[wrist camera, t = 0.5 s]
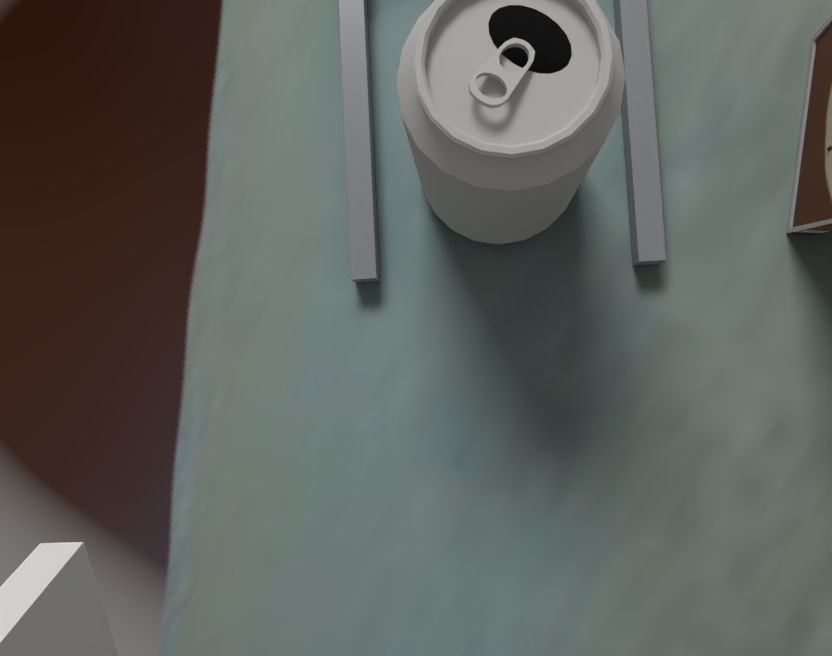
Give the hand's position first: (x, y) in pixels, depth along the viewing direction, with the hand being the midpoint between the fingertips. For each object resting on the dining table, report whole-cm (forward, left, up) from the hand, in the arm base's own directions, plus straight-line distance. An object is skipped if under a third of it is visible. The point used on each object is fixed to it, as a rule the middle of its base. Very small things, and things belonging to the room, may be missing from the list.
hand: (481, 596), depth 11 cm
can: (+13, -2, -21) cm, 25 cm away
